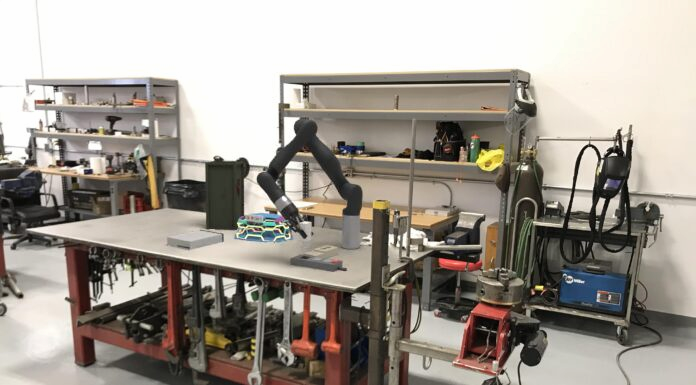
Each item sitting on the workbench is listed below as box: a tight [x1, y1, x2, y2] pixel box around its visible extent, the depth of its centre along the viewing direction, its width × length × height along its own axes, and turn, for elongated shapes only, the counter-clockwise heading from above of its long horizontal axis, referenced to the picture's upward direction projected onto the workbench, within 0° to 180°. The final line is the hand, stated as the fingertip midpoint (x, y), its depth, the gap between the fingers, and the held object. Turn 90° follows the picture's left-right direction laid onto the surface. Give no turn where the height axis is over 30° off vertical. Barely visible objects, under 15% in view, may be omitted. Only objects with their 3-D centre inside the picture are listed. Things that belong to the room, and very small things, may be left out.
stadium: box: [233, 212, 294, 244], centre depth 278 cm, size 35×24×14 cm
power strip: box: [290, 253, 348, 273], centre depth 220 cm, size 8×26×4 cm, turn 63°
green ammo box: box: [204, 160, 245, 231], centre depth 303 cm, size 18×18×40 cm
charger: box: [298, 221, 313, 250], centre depth 222 cm, size 5×4×12 cm
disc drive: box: [166, 229, 225, 251], centre depth 259 cm, size 18×22×5 cm
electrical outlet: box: [302, 244, 339, 259], centre depth 237 cm, size 7×4×18 cm
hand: (309, 236), depth 221 cm, fingers closed on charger, 4 cm apart
